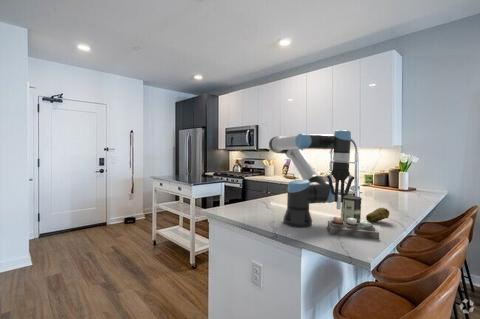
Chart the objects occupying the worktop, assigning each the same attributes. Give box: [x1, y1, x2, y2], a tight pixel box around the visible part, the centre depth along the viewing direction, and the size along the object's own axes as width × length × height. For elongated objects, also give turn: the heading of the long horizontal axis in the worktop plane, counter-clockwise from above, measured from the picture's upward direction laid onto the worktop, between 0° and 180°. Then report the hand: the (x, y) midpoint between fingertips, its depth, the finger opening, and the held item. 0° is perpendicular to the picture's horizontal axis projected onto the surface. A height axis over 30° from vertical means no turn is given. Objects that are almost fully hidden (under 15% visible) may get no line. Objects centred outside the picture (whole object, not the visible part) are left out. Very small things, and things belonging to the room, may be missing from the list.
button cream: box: [347, 218, 357, 224], centre depth 117 cm, size 4×4×2 cm
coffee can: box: [340, 194, 363, 223], centre depth 135 cm, size 10×10×14 cm
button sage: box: [361, 221, 372, 227], centre depth 116 cm, size 4×4×2 cm
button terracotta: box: [332, 216, 343, 223], centre depth 119 cm, size 4×4×2 cm
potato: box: [365, 207, 390, 223], centre depth 136 cm, size 8×13×8 cm, turn 81°
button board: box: [327, 219, 380, 240], centre depth 118 cm, size 21×12×4 cm, turn 76°
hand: (338, 208), depth 119 cm, fingers closed
